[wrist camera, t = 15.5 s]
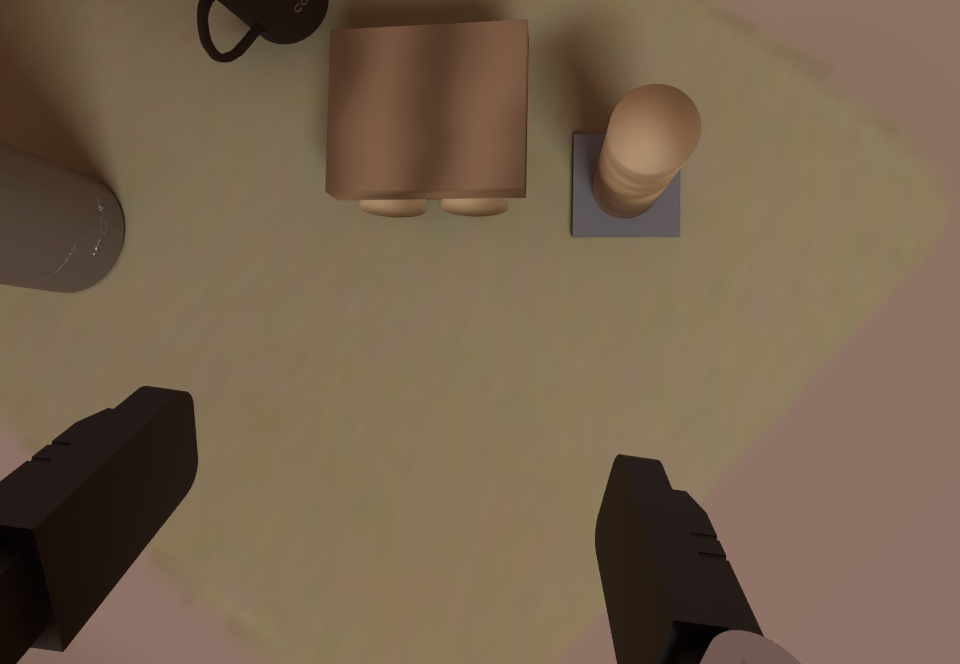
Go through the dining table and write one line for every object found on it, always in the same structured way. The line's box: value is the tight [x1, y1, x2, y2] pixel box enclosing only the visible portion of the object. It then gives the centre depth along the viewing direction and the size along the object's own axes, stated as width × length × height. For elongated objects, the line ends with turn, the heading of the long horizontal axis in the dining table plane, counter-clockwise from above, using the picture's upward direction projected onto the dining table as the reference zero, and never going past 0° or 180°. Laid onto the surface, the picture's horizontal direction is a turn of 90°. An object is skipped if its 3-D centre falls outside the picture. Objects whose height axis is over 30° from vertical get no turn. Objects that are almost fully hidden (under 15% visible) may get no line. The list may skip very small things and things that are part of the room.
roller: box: [592, 84, 701, 218], centre depth 32 cm, size 4×4×10 cm
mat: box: [572, 133, 680, 237], centre depth 38 cm, size 7×7×1 cm
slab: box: [325, 19, 529, 217], centre depth 36 cm, size 12×10×6 cm
